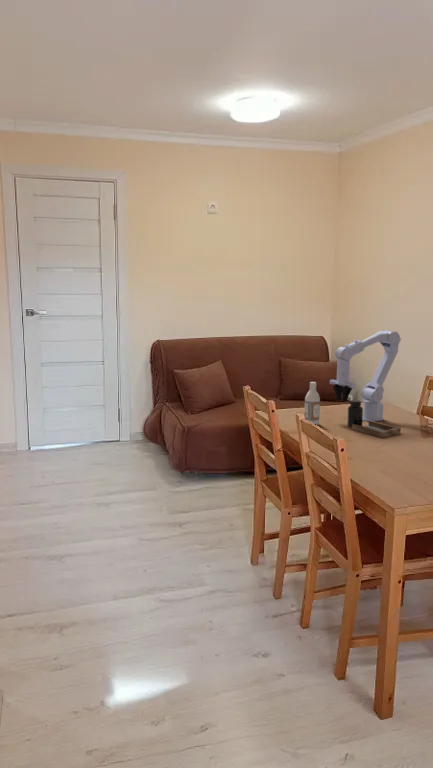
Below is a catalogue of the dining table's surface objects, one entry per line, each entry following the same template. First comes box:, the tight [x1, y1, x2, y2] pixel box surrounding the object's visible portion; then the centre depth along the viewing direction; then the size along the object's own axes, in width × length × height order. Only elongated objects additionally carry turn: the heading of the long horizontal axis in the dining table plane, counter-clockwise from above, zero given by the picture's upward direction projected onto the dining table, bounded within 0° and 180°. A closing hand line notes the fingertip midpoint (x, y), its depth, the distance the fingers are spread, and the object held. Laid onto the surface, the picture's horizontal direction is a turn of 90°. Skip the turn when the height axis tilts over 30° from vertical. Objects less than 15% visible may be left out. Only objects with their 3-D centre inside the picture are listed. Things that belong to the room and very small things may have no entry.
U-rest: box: [351, 421, 401, 439], centre depth 262 cm, size 13×16×2 cm
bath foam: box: [303, 381, 321, 426], centre depth 273 cm, size 7×7×20 cm
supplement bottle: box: [346, 399, 364, 428], centre depth 271 cm, size 7×7×12 cm
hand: (341, 401), depth 277 cm, fingers open, 3 cm apart
